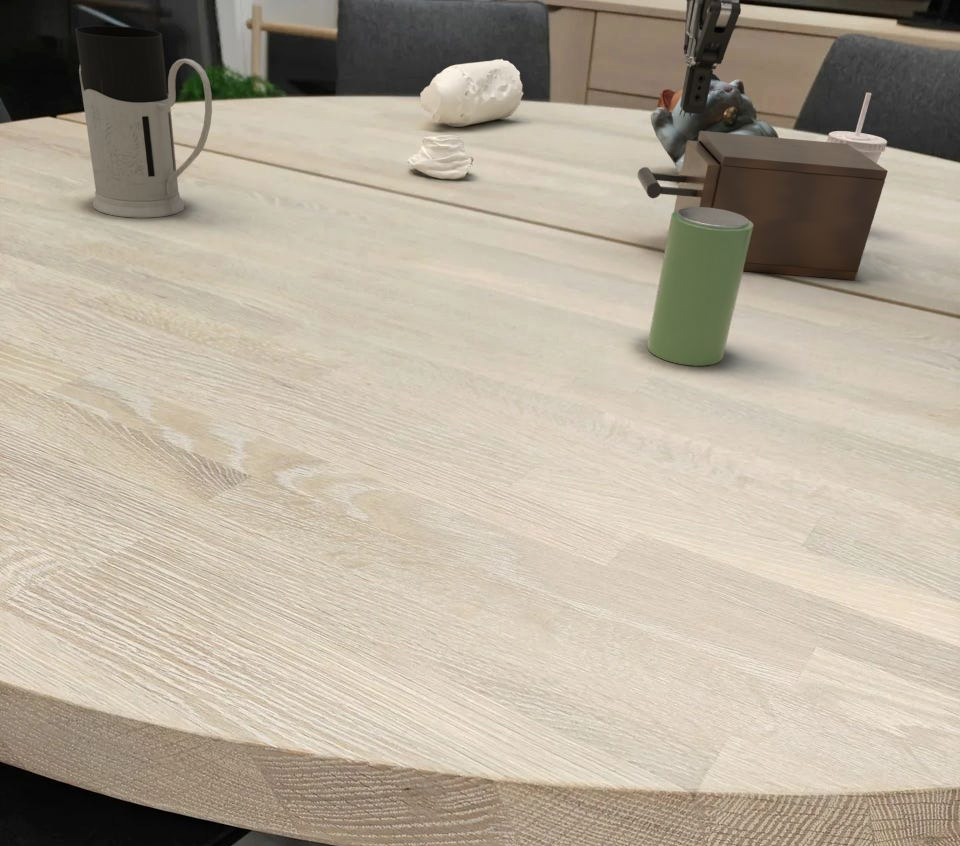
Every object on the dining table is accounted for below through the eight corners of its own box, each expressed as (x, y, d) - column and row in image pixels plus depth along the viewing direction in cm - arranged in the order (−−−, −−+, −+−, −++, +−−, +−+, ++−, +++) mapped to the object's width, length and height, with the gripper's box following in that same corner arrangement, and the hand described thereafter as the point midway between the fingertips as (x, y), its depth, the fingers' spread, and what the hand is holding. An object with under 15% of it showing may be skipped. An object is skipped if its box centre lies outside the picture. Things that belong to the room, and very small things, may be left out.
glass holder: (135, 190, 104) (115, 22, 95) (246, 216, 100) (236, 43, 91) (73, 205, 98) (45, 27, 89) (189, 234, 93) (173, 50, 84)
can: (714, 340, 81) (744, 209, 75) (729, 368, 77) (763, 230, 70) (642, 335, 81) (666, 202, 75) (653, 362, 76) (679, 223, 70)
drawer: (640, 251, 98) (656, 159, 93) (626, 221, 107) (640, 136, 102) (833, 267, 99) (859, 177, 94) (803, 235, 108) (825, 152, 103)
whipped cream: (407, 184, 119) (405, 141, 116) (408, 166, 124) (407, 124, 121) (473, 185, 120) (474, 141, 116) (472, 167, 125) (472, 124, 121)
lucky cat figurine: (693, 193, 123) (665, 73, 119) (656, 210, 135) (628, 101, 130) (800, 157, 125) (776, 37, 121) (754, 177, 137) (730, 68, 132)
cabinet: (700, 267, 98) (724, 156, 92) (679, 232, 108) (699, 130, 102) (855, 280, 99) (888, 170, 93) (819, 244, 109) (847, 143, 103)
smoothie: (796, 227, 114) (832, 90, 106) (815, 218, 119) (850, 85, 110) (850, 239, 112) (891, 100, 103) (867, 229, 116) (908, 95, 108)
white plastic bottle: (406, 127, 144) (407, 64, 139) (477, 113, 157) (481, 55, 152) (451, 136, 141) (454, 72, 136) (520, 122, 154) (525, 63, 149)
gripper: (797, -109, 80) (745, 128, 90) (759, -109, 91) (716, 104, 101) (706, -119, 80) (663, 121, 90) (678, -118, 90) (643, 97, 101)
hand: (691, 111), depth 95 cm, fingers closed
